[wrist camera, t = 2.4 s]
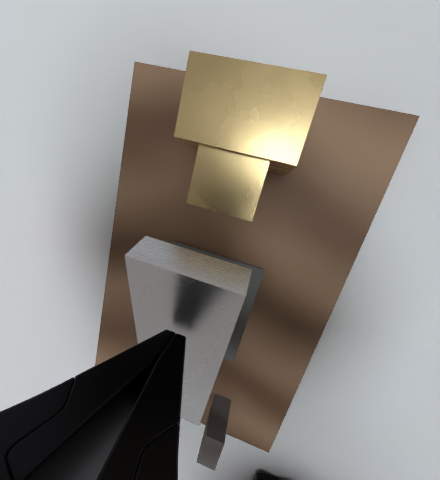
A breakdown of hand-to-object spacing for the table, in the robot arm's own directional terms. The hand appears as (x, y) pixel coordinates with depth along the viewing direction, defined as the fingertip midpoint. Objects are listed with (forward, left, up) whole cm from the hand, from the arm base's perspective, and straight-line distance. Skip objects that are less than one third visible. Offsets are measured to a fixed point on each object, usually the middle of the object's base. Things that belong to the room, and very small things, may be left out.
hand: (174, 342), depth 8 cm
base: (0, 0, -7) cm, 7 cm away
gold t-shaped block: (+8, 0, -5) cm, 9 cm away
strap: (-3, 0, -3) cm, 4 cm away
